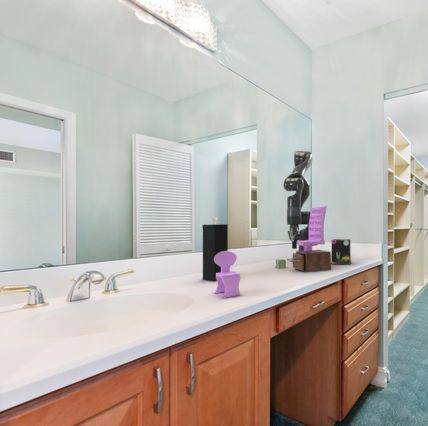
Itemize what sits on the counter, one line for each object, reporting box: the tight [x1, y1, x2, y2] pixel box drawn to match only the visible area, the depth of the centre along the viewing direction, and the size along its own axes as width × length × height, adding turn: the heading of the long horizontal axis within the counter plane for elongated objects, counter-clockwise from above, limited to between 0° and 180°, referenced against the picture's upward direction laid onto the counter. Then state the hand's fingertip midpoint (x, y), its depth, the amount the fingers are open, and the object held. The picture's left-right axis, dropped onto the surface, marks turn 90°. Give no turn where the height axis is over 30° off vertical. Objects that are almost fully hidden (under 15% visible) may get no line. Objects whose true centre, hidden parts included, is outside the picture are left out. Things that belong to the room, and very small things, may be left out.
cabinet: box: [295, 249, 332, 273], centre depth 150 cm, size 15×13×10 cm
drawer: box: [286, 252, 306, 272], centre depth 148 cm, size 18×11×8 cm, turn 115°
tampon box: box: [330, 238, 352, 266], centre depth 171 cm, size 11×9×15 cm
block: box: [275, 258, 287, 269], centre depth 158 cm, size 4×4×4 cm
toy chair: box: [214, 250, 241, 299], centre depth 99 cm, size 8×9×15 cm
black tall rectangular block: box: [202, 216, 229, 282], centre depth 127 cm, size 8×8×28 cm
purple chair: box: [297, 205, 328, 251], centre depth 170 cm, size 15×17×35 cm
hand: (294, 248), depth 146 cm, fingers closed
